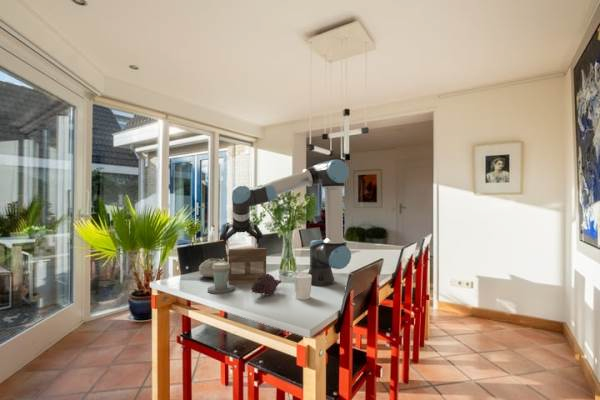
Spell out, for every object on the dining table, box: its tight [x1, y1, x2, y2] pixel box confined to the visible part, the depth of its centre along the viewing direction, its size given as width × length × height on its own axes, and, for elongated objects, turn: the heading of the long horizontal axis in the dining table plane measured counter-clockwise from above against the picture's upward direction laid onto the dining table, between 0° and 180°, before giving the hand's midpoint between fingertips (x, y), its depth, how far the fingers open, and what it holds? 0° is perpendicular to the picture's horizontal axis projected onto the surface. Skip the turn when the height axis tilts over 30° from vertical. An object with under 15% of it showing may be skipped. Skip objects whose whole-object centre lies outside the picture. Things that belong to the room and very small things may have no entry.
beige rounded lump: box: [198, 258, 227, 279], centre depth 173 cm, size 18×18×10 cm
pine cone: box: [250, 273, 282, 296], centre depth 139 cm, size 18×10×10 cm, turn 140°
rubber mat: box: [207, 284, 236, 295], centre depth 147 cm, size 13×13×1 cm
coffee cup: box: [212, 261, 230, 290], centre depth 147 cm, size 8×8×12 cm
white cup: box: [294, 273, 312, 301], centre depth 136 cm, size 8×8×10 cm
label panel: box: [228, 247, 267, 285], centre depth 162 cm, size 6×20×18 cm, turn 102°
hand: (241, 247), depth 148 cm, fingers open, 13 cm apart
